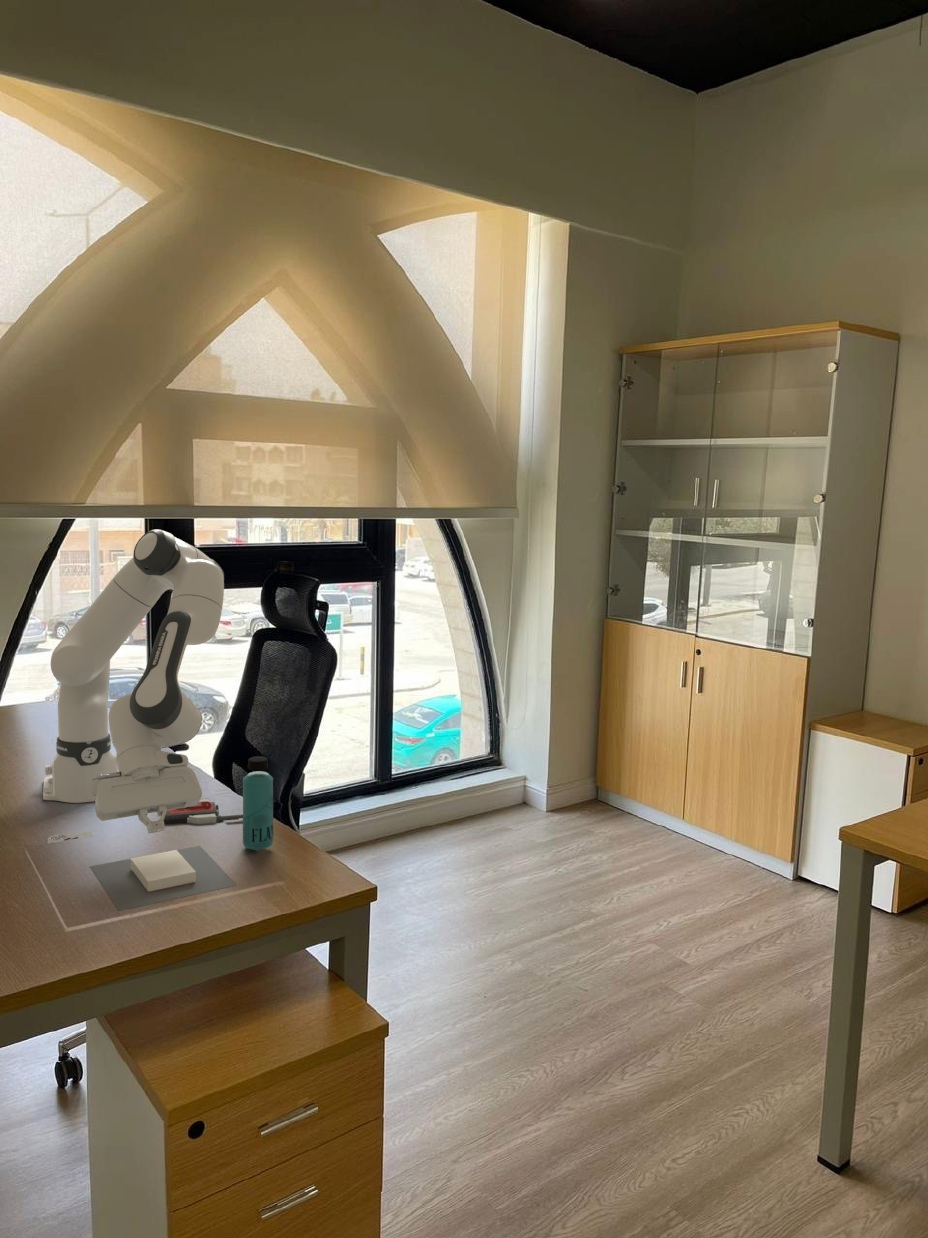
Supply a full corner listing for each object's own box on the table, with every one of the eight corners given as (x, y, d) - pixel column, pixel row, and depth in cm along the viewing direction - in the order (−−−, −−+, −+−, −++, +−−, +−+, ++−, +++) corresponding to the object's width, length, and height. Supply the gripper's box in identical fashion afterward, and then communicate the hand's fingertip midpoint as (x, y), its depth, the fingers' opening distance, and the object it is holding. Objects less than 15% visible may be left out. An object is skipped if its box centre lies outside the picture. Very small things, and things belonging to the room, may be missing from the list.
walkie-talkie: (159, 831, 211) (252, 823, 218) (159, 812, 211) (252, 804, 218) (157, 817, 220) (247, 810, 226) (157, 799, 219) (247, 792, 226)
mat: (89, 868, 190) (89, 866, 190) (199, 848, 202) (199, 845, 202) (118, 913, 172) (118, 911, 172) (237, 887, 184) (237, 885, 184)
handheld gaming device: (92, 830, 209) (92, 857, 195) (92, 833, 209) (93, 860, 195) (47, 834, 206) (45, 862, 192) (48, 838, 206) (45, 865, 192)
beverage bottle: (248, 859, 198) (248, 764, 195) (237, 847, 203) (237, 755, 200) (278, 853, 201) (279, 760, 198) (267, 842, 207) (267, 751, 204)
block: (130, 858, 189) (147, 881, 179) (176, 850, 194) (195, 871, 184) (130, 869, 190) (148, 893, 180) (176, 860, 194) (195, 883, 185)
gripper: (90, 768, 188) (104, 833, 181) (194, 754, 199) (211, 815, 192) (85, 784, 192) (98, 848, 185) (188, 769, 203) (203, 829, 197)
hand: (156, 831), depth 189 cm, fingers closed
